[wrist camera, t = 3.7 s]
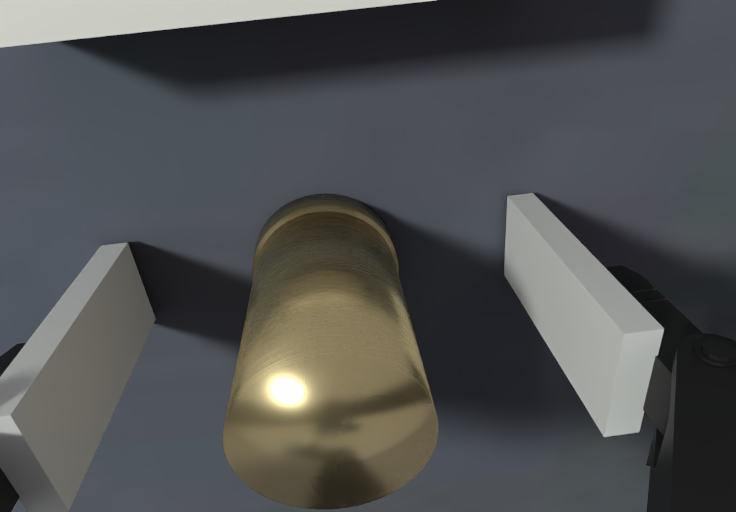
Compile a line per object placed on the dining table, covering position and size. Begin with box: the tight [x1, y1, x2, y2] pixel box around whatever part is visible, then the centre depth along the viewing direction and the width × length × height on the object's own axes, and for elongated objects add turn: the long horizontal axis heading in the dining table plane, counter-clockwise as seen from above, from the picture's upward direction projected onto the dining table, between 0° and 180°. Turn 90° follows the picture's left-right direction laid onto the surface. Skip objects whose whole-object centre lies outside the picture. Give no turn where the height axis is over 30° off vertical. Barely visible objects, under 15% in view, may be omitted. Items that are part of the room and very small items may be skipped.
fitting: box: [223, 194, 439, 509], centre depth 13 cm, size 4×4×7 cm
